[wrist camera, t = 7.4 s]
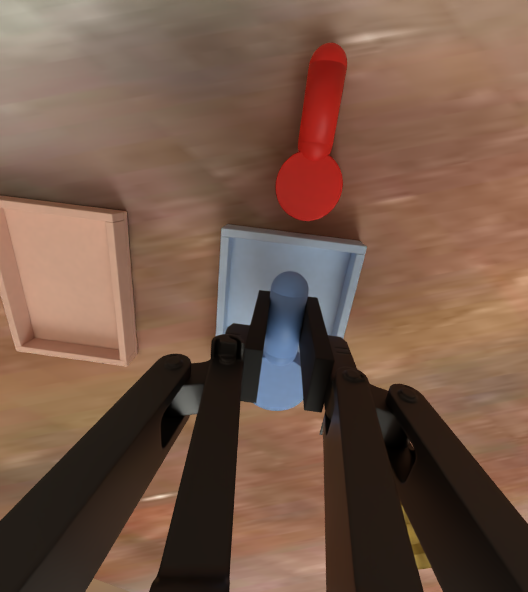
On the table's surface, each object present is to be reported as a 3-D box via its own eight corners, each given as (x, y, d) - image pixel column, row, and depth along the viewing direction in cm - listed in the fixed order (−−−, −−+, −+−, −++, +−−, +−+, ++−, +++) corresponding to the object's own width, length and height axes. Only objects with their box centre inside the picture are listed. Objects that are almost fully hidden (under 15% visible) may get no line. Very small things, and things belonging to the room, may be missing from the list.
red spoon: (292, 48, 17) (293, 30, 15) (364, 56, 17) (375, 39, 15) (272, 214, 21) (271, 217, 19) (331, 221, 20) (336, 226, 18)
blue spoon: (256, 262, 17) (251, 272, 15) (328, 271, 17) (334, 283, 15) (242, 390, 20) (237, 412, 18) (301, 398, 20) (303, 422, 18)
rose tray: (-1, 194, 22) (-28, 196, 20) (127, 211, 21) (111, 213, 19) (34, 339, 27) (15, 351, 25) (137, 354, 26) (126, 366, 24)
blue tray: (226, 223, 21) (221, 227, 19) (360, 240, 21) (367, 246, 19) (218, 365, 26) (213, 379, 24) (325, 380, 26) (328, 395, 24)
